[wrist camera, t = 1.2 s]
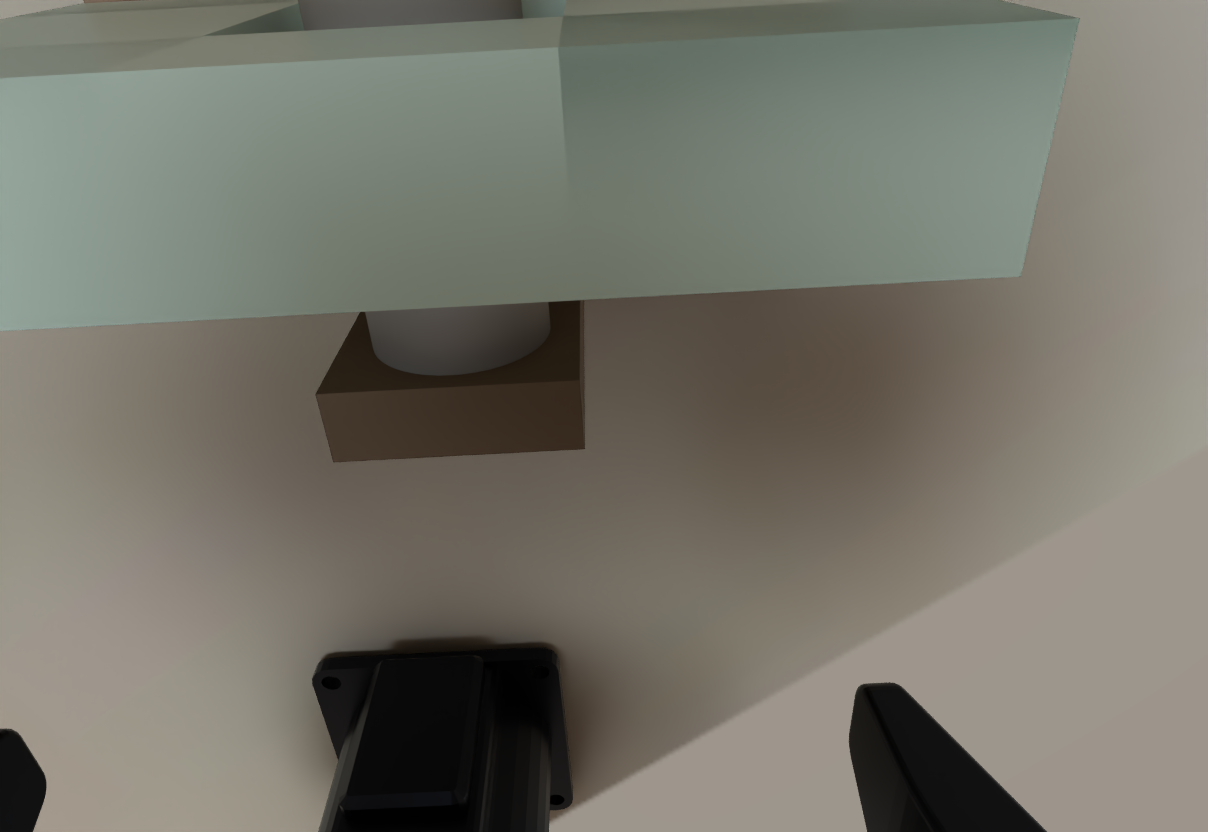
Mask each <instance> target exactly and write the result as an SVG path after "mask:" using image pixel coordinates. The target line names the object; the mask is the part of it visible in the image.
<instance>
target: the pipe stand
mask: <svg viewBox="0 0 1208 832" xmlns="http://www.w3.org/2000/svg"><path fill="white" fill-rule="evenodd" d="M119 1H137V0H84V3H101V2H119ZM298 3H299V8H300V13H301V17H302V22H303V27H304V31H309V30H327V29H345V28H363V27H381V26H399V25H417V24H435V23H453V22H471V21H489V20H507V19H523V14H522V3H521V0H298ZM316 398H317V402H318V406H319V410H320V413H321V417H322V421H323V425H324V428H325V432H326V436H327V440H328V444H329V447H330V451H331V455H332V459H333V462H348V461H367V460H386V459H406V458H425V457H444V456H463V455H482V454H501V453H520V452H539V451H558V450H577V449H585V403H584V300H573V301H555V302H536V303H517V304H498V305H480V306H461V307H442V308H424V309H405V310H386V311H368V312H360V314H359V315H358V317H357V319H356V321H355V323H354V325H353V326H352V328H351V330H350V332H349V334H348V336H347V337H346V339H345V341H344V343H343V345H342V347H341V348H340V350H339V352H338V354H337V356H336V358H335V359H334V361H333V363H332V365H331V367H330V369H329V370H328V372H327V374H326V376H325V378H324V380H323V381H322V383H321V385H320V387H319V389H318V391H317V392H316Z"/></svg>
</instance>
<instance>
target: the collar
mask: <svg viewBox="0 0 1208 832" xmlns="http://www.w3.org/2000/svg"><path fill="white" fill-rule="evenodd" d="M521 3H522V14H523V19H507V20H489V21H471V22H453V23H435V24H417V25H399V26H381V27H363V28H345V29H327V30H309V31H304V27H303V22H302V17H301V13H300V8H299V3H298V0H137V1H119V2H101V3H83V4H77V5H72V6H67V7H62V8H57V9H52V10H47V11H41V12H36V13H31V14H26V15H21V16H16V17H11V18H6V19H0V331H13V330H31V329H50V328H69V327H87V326H106V325H125V324H143V323H162V322H181V321H199V320H218V319H237V318H256V317H274V316H293V315H312V314H330V313H349V312H368V311H386V310H405V309H424V308H442V307H461V306H480V305H498V304H517V303H536V302H555V301H573V300H592V299H611V298H629V297H648V296H667V295H685V294H704V293H723V292H741V291H760V290H779V289H797V288H816V287H835V286H854V285H872V284H891V283H910V282H928V281H947V280H966V279H984V278H1003V277H1021V273H1022V269H1023V265H1024V260H1025V256H1026V251H1027V247H1028V243H1029V238H1030V234H1031V229H1032V225H1033V221H1034V216H1035V212H1036V207H1037V203H1038V199H1039V194H1040V190H1041V186H1042V181H1043V177H1044V172H1045V168H1046V164H1047V159H1048V155H1049V150H1050V146H1051V142H1052V137H1053V133H1054V128H1055V124H1056V120H1057V115H1058V111H1059V106H1060V102H1061V98H1062V93H1063V89H1064V84H1065V80H1066V76H1067V71H1068V67H1069V62H1070V58H1071V54H1072V49H1073V45H1074V41H1075V36H1076V32H1077V27H1078V23H1079V19H1080V18H1075V17H1071V16H1067V15H1062V14H1058V13H1053V12H1049V11H1045V10H1040V9H1036V8H1031V7H1027V6H1022V5H1018V4H1014V3H1009V2H1005V1H1000V0H521Z"/></svg>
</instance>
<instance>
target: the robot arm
mask: <svg viewBox="0 0 1208 832" xmlns="http://www.w3.org/2000/svg"><path fill="white" fill-rule="evenodd" d="M536 666H544V667H536ZM335 677H336V678H335ZM312 684H313V687H314V690H315V693H316V696H317V699H318V702H319V705H320V708H321V711H322V714H323V717H324V719H325V722H326V725H327V728H328V731H329V734H330V737H331V740H332V743H333V746H334V749H335V752H336V755H337V758H338V764H337V768H336V771H335V775H334V778H333V782H332V785H331V789H330V792H329V796H328V799H327V803H326V806H325V810H324V813H323V817H322V820H321V824H320V828H319V831H318V832H549V813H550V810H561V809H565V808H567V807H569V806H570V805H571V803H572V800H573V784H572V775H571V765H570V756H569V747H568V738H567V729H566V720H565V711H564V701H563V692H562V683H561V674H560V665H559V659H558V656H557V654H555V653H554V652H553V651H552V650H549V649H547V648H519V649H500V650H480V651H460V652H441V653H421V654H402V655H382V656H362V657H343V658H329V659H324V660H323V661H321V662H319V664H318V665H317V667H316V670H315V673H314V675H313V678H312ZM849 747H850V754H851V760H852V764H853V769H854V773H855V778H856V782H857V787H858V792H859V796H860V801H861V805H862V810H863V814H864V819H865V823H866V827H867V832H1047V831H1046V830H1045V829H1043V827H1042V826H1041V825H1040V824H1039V823H1038V822H1037V821H1036V820H1035V819H1034V818H1033V817H1032V816H1031V815H1030V814H1029V813H1028V812H1027V811H1026V810H1025V809H1024V808H1023V807H1022V806H1021V805H1020V804H1019V803H1018V802H1017V801H1016V800H1015V799H1014V798H1013V797H1012V796H1011V795H1010V794H1009V793H1007V791H1006V790H1004V788H1003V787H1002V786H1001V785H1000V784H999V783H998V782H997V781H996V780H995V779H994V778H993V777H992V776H991V775H990V774H989V773H988V772H987V771H986V770H985V769H984V768H983V767H982V766H981V765H980V764H979V763H978V762H977V761H975V759H974V758H973V757H972V756H971V755H970V754H969V753H968V752H967V751H966V750H965V749H964V748H962V746H961V745H960V744H959V743H958V742H956V740H955V739H954V738H953V737H951V735H950V734H948V732H947V731H946V730H945V729H944V728H943V727H942V726H941V725H940V724H939V723H938V722H936V720H935V719H934V718H932V716H931V715H930V714H929V713H927V711H926V710H925V709H923V707H922V706H921V705H919V703H917V701H916V700H915V699H914V698H913V697H912V696H911V695H909V693H907V691H906V690H905V689H903V688H902V687H901V686H900V685H898V684H895V683H890V682H889V683H870V684H863V685H860V686H859V687H858V689H857V691H856V694H855V700H854V707H853V713H852V720H851V726H850V733H849ZM45 794H46V778H45V775H44V772H43V771H42V769H41V767H40V766H39V764H38V763H37V761H36V759H35V758H34V756H33V755H32V753H31V751H30V750H29V748H28V747H27V745H26V743H25V742H24V740H23V739H22V737H21V736H20V735H19V733H18V732H16V731H14V730H12V729H0V832H33V830H34V827H35V824H36V822H37V819H38V816H39V813H40V810H41V808H42V805H43V802H44V799H45Z"/></svg>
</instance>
